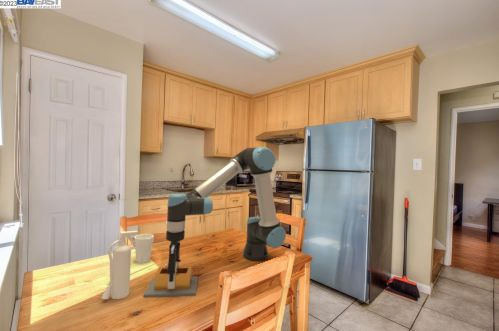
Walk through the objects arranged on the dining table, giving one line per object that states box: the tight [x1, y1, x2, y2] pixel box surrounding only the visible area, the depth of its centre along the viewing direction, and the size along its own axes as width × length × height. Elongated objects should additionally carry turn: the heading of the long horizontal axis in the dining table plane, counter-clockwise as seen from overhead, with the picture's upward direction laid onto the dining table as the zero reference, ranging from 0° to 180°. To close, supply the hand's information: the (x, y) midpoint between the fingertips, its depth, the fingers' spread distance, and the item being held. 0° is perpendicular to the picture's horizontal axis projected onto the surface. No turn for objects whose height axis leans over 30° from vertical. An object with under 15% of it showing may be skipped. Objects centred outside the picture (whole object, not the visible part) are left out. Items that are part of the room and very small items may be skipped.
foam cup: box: [133, 233, 155, 264], centre depth 125 cm, size 10×9×13 cm
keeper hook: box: [164, 262, 177, 274], centre depth 100 cm, size 5×2×10 cm, turn 99°
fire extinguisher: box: [101, 230, 139, 300], centre depth 92 cm, size 7×12×25 cm, turn 144°
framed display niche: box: [154, 266, 193, 290], centre depth 101 cm, size 14×8×6 cm, turn 99°
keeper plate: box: [143, 275, 199, 298], centre depth 101 cm, size 20×14×1 cm
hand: (173, 282), depth 101 cm, fingers open, 9 cm apart
